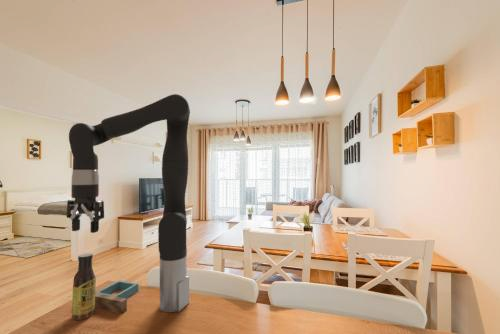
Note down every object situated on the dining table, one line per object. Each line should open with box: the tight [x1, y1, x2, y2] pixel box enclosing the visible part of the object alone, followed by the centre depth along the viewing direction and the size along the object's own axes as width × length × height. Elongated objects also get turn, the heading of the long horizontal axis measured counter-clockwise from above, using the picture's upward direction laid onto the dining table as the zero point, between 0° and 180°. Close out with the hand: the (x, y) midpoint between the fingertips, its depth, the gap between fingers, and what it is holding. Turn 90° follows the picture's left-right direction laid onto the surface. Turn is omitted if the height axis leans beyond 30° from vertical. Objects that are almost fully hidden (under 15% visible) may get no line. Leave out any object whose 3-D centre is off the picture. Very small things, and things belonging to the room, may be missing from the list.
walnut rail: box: [94, 293, 128, 314], centre depth 83 cm, size 19×2×4 cm, turn 72°
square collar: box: [95, 280, 139, 300], centre depth 90 cm, size 10×11×3 cm
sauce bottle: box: [71, 252, 97, 321], centre depth 78 cm, size 7×6×20 cm
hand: (84, 231), depth 79 cm, fingers open, 8 cm apart
